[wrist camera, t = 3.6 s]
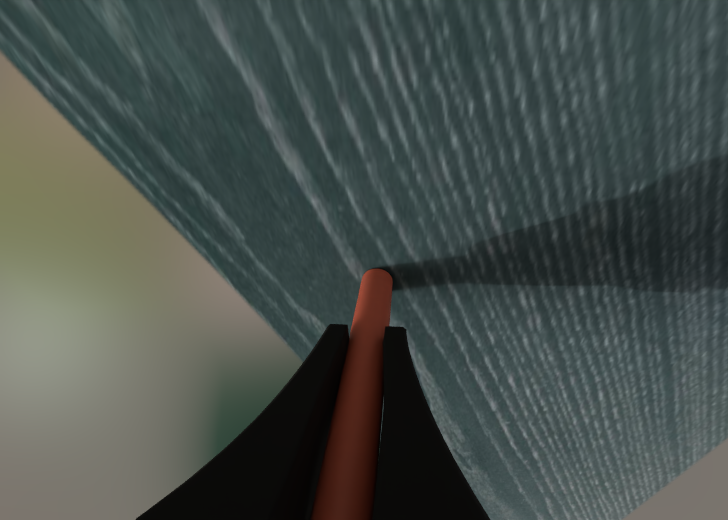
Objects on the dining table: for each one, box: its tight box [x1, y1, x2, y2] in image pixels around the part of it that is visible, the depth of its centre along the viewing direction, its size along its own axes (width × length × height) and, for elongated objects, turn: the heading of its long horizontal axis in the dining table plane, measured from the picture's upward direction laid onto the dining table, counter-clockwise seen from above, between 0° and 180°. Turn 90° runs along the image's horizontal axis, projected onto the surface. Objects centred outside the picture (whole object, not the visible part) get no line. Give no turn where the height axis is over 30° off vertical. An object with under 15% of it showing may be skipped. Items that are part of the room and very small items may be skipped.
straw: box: [310, 269, 393, 520], centre depth 10 cm, size 1×1×11 cm
